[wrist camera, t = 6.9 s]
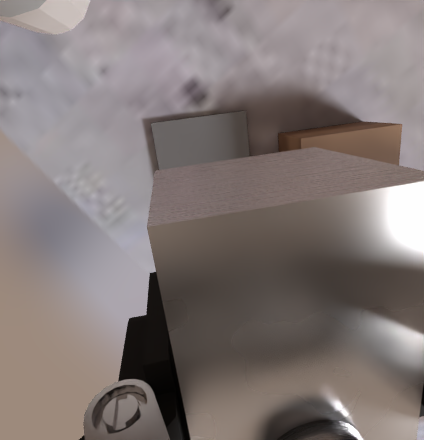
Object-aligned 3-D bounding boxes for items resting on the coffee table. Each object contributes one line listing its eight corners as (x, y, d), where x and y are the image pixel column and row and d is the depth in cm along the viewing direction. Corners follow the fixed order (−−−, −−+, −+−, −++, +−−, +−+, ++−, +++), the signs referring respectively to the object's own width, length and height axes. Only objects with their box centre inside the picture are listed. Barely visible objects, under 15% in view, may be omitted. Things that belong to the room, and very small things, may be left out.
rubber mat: (151, 123, 23) (150, 123, 23) (244, 110, 24) (246, 110, 23) (173, 246, 27) (173, 248, 26) (254, 233, 27) (255, 235, 27)
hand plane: (278, 133, 25) (322, 143, 18) (362, 121, 25) (438, 126, 18) (287, 323, 31) (322, 386, 24) (355, 310, 31) (409, 367, 24)
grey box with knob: (154, 170, 9) (145, 241, 4) (314, 147, 10) (485, 184, 5) (196, 396, 12) (221, 604, 7) (317, 370, 13) (423, 547, 8)
